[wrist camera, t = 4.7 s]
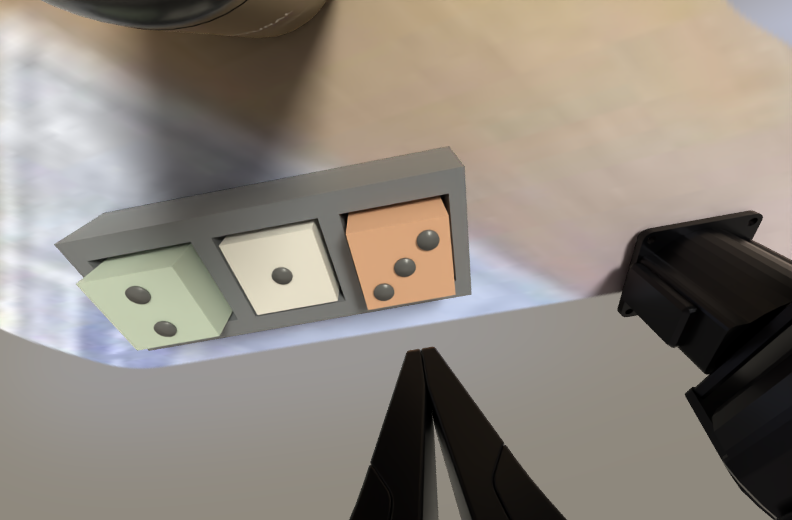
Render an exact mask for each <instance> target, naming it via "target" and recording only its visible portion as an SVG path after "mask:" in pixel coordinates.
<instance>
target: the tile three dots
mask: <svg viewBox="0 0 792 520" xmlns="http://www.w3.org/2000/svg"><path fill="white" fill-rule="evenodd" d="M346 237H347V240H348V244H349V247H350V250H351V254H352V257H353V260H354V264H355V267H356V271H357V274H358V277H359V281H360V284H361V287H362V291H363V294H364V298H365V301H366V304H367V308H368V310H372V309H378V308H383V307H389V306H395V305H400V304H406V303H412V302H418V301H423V300H429V299H435V298H441V297H446V296H452V295H456V293H455V282H454V271H453V260H452V249H451V237H450V226H449V215H448V213H447V211H446V209H445V207H444V204H443V202H442V200H441V198H440V196H439V195H438V196H433V197H427V198H422V199H417V200H411V201H406V202H401V203H395V204H390V205H385V206H379V207H374V208H369V209H363V210H358V211H353V212H349V213H348V221H347V228H346Z"/></svg>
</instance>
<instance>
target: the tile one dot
mask: <svg viewBox="0 0 792 520" xmlns="http://www.w3.org/2000/svg"><path fill="white" fill-rule="evenodd" d="M219 247H220V249H221V251H222V253H223V254H224V256H225V258H226V260H227V261H228V263H229V265H230V267H231V269H232V270H233V272H234V274H235V276H236V278H237V279H238V281H239V283H240V285H241V286H242V288H243V290H244V292H245V294H246V295H247V297H248V299H249V301H250V303H251V304H252V306H253V308H254V310H255V311H256V313H257V315H260V314H266V313H272V312H277V311H283V310H289V309H294V308H300V307H306V306H311V305H317V304H323V303H328V302H334V301H338V295H339V287H340V282H339V279H338V276H337V274H336V271H335V268H334V265H333V262H332V259H331V256H330V253H329V250H328V247H327V244H326V241H325V238H324V235H323V233H322V230H321V227H320V224H319V221H318V218H315V219H310V220H305V221H299V222H294V223H289V224H283V225H278V226H273V227H267V228H262V229H257V230H251V231H246V232H241V233H235V234H230V235H227V236H226V237H225V238H224V240H223V241H222V242H221V244H220V245H219Z"/></svg>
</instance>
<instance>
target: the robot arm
mask: <svg viewBox="0 0 792 520" xmlns="http://www.w3.org/2000/svg"><path fill="white" fill-rule="evenodd" d="M762 219H763V216H762V215H761V214H759V213H757V212H755V211H745V212H739V213H734V214H728V215H722V216H717V217H711V218H706V219H700V220H694V221H689V222H683V223H678V224H672V225H666V226H661V227H655V228H650V229H646V230H644V231H643V232H641V233H640V234H639V236H638V238H637V242H636V245H635V249H634V253H633V256H632V260H631V263H630V267H629V270H628V274H627V277H626V281H625V284H624V288H623V291H622V295H621V298H620V302H619V305H618V312H619V313H620V314H621V315H622V316H623V317H630V316H636V315H638V316H639V317H640V318H641V319H642V320H643V321H644V322H645V323H646V324H648V326H649V327H650V328H651V329H652V330H653V331H654V332H655V333H656V334H657V335H658V336H659V337H660V338H661V339H662V340H663V341H664V342H665V343H666V344H667V345H669V346H670V347H673V348H675V347H678V348H679V349H680V350H681V351H682V352H683V353H684V354H685V355H686V356H687V357H688V358H689V359H690V360H691V361H692V362H693V363H694V364H695V365H697V367H698V368H699V369H700V370H702V372H704V373H705V374H710V375H708V376H707V377H706V378H705V379H704V380H703V381H702V382H701V383H700V384H698V385H697V386H696V387H692V388H691V389H689V391H687V392H686V393H685V396H686V398H687V400H688V402H689V403H690V405H691V407H692V408H693V410H694V412H695V414H696V416H697V417H698V419H699V421H700V423H701V424H702V426H703V428H704V429H705V431H706V433H707V435H708V437H709V438H710V440H711V442H712V444H713V445H714V447H715V449H716V451H717V452H718V454H719V456H720V458H721V459H722V461H723V463H724V465H725V467H726V468H727V470H728V472H729V473H730V475H731V476H732V478H733V479H734V481H735V482H736V483H737V484H738V486H739V488H740V489H741V491H742V492H743V493H745V494H746V495H747V496H748V497H749V498H750V499H751V500H752V501H753V502H754V503H755V504H756V505H757V506H758V507H759V508H761V509H762V510H763V511H764V512H765V513H767V514H768V515H769V516H770V517H771V518H772V519H774V520H792V260H790V259H788V258H787V257H785V256H783V255H781V254H779V253H777V252H775V251H773V250H771V249H769V248H767V247H765V246H763V245H761V244H759V243H757V242H755V241H753V240H752V239H753V237H754V235H755V233H756V231H757V229H758V227H759V225H760V223H761V221H762ZM649 237H650V238H649ZM648 238H649V239H648ZM432 416H433V417H432ZM433 421H434V425H435V429H436V433H437V437H438V440H439V443H440V447H441V450H442V453H443V457H444V461H445V464H446V467H447V471H448V474H449V478H450V482H451V485H452V488H453V492H454V495H455V499H456V502H457V506H458V509H459V513H460V516H461V519H462V520H566V518H565V517H564V516H563V515H562V514H561V513H560V512H559V511H558V509H557V508H556V507H555V506H554V505H553V504H552V503H551V502H550V501H549V499H548V498H547V497H546V496H545V495H544V493H543V492H542V491H541V490H540V489H539V487H538V486H537V485H536V484H535V483H534V482H533V480H532V479H531V478H530V477H529V475H528V474H527V473H526V471H525V470H524V469H523V468H522V466H521V465H520V464H519V463H518V461H517V460H516V458H515V457H514V456H513V454H512V453H511V451H510V450H509V449H508V447H507V446H506V445H504V442H503V441H502V439H501V438H500V437H499V435H498V434H497V432H496V431H495V430H494V428H493V427H492V425H491V424H490V423H489V421H488V420H487V419H486V417H485V416H484V414H483V413H482V412H481V410H480V409H479V407H478V406H477V405H476V403H475V402H474V400H473V399H472V398H471V397H470V395H469V394H468V392H467V391H466V389H465V388H464V387H463V385H462V384H461V383H460V381H459V380H458V378H457V377H456V376H455V374H454V373H453V372H452V370H451V369H450V367H449V366H448V365H447V363H446V362H445V360H444V359H443V357H442V356H441V355H440V353H439V352H438V351H437V349H436V348H435V347H429V348H423V349H422V350H419V349H416V350H410V351H407V353H406V356H405V359H404V361H403V364H402V368H401V370H400V374H399V377H398V380H397V383H396V386H395V389H394V392H393V395H392V398H391V401H390V404H389V407H388V410H387V413H386V416H385V419H384V423H383V425H382V428H381V432H380V435H379V438H378V441H377V444H376V447H375V450H374V453H373V456H372V459H371V465H370V466H369V468H368V471H367V474H366V477H365V480H364V483H363V486H362V488H361V491H360V494H359V497H358V499H357V502H356V505H355V507H354V510H353V512H352V514H351V517H350V519H349V520H438V500H437V481H436V460H435V441H434V425H433Z"/></svg>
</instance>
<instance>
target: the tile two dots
mask: <svg viewBox="0 0 792 520" xmlns="http://www.w3.org/2000/svg"><path fill="white" fill-rule="evenodd" d="M76 285H77V286H78V287H79V288H80V289H81V290H82V291H83V292H84V293H85V295H86V296H87V297H88V298H89V299H90V300H91V301H92V302H93V303H94V304H95V305H96V306H97V308H98V309H99V310H100V311H101V312H102V313H103V314H104V315H105V316H106V317H107V318H108V319H109V321H110V322H111V323H112V324H113V325H114V326H115V327H116V328H117V329H118V330H119V331H120V333H121V334H122V335H123V336H124V337H125V338H126V339H127V340H128V341H129V342H130V343H131V344H132V346H133V347H134V348H135V349H136V350H143V349H149V348H154V347H160V346H166V345H172V344H177V343H183V342H189V341H194V340H200V339H206V338H212V337H217V336H220V334H221V332H222V330H223V329H224V327H225V325H226V323H227V321H228V319H229V317H230V315H231V313H232V311H233V310H232V309H231V307H230V306H229V304H228V302H227V301H226V299H225V297H224V296H223V294H222V293H221V291H220V289H219V288H218V286H217V284H216V283H215V281H214V279H213V278H212V276H211V275H210V273H209V271H208V270H207V268H206V266H205V265H204V263H203V262H202V260H201V258H200V257H199V255H198V253H197V252H196V250H195V248H194V247H193V245H192V244H191V242H187V243H182V244H176V245H171V246H166V247H160V248H155V249H150V250H144V251H139V252H134V253H128V254H123V255H118V256H112V257H109V258H107V259H106V260H105V261H104V262H102V263H101V264H100V265H99V266H98V267H96V268H95V269H94V270H93V271H91V272H90V273H89V274H88V275H86V276H85V277H84V278H83V279H82V280H80V281H79V282H78V283H77V284H76Z"/></svg>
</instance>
